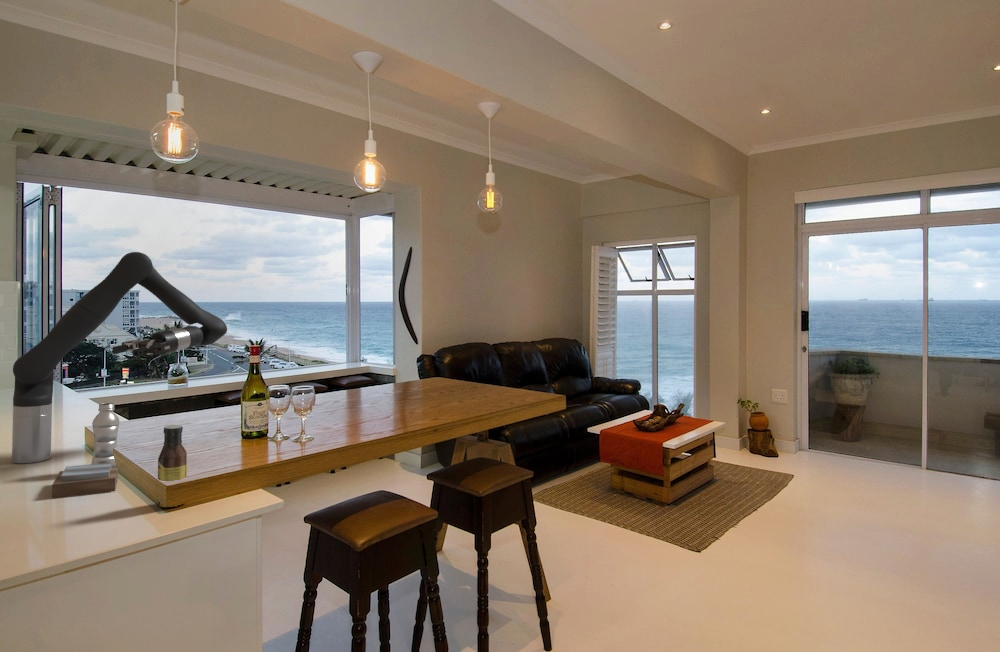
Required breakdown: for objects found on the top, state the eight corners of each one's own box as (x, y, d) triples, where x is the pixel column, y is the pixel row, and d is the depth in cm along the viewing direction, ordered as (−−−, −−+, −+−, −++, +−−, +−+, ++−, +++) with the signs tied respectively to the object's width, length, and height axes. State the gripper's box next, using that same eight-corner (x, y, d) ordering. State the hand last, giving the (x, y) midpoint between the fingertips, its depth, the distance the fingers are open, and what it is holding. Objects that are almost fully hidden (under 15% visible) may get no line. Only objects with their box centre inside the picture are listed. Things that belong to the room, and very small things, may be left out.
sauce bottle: (165, 500, 139) (167, 422, 139) (191, 500, 140) (193, 423, 140) (151, 509, 133) (153, 428, 133) (178, 510, 133) (180, 428, 133)
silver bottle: (124, 470, 163) (126, 403, 163) (101, 476, 157) (102, 406, 156) (108, 467, 165) (110, 401, 165) (85, 473, 159) (87, 404, 158)
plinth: (59, 484, 149) (60, 465, 149) (117, 478, 156) (118, 460, 155) (51, 498, 138) (52, 478, 138) (114, 491, 145) (115, 472, 144)
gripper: (154, 328, 183) (105, 337, 168) (186, 331, 178) (138, 342, 163) (156, 349, 184) (108, 361, 169) (188, 354, 179) (141, 366, 164)
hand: (123, 352), depth 166 cm, fingers open, 8 cm apart
